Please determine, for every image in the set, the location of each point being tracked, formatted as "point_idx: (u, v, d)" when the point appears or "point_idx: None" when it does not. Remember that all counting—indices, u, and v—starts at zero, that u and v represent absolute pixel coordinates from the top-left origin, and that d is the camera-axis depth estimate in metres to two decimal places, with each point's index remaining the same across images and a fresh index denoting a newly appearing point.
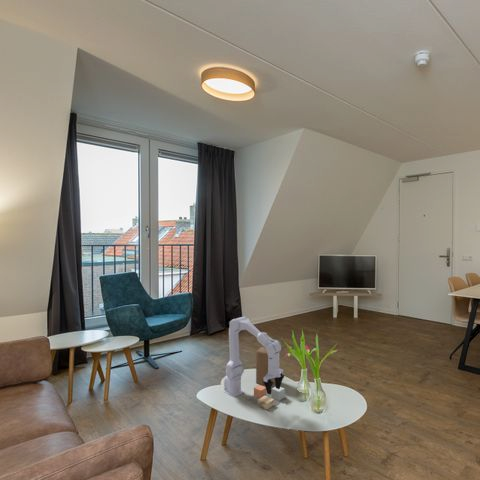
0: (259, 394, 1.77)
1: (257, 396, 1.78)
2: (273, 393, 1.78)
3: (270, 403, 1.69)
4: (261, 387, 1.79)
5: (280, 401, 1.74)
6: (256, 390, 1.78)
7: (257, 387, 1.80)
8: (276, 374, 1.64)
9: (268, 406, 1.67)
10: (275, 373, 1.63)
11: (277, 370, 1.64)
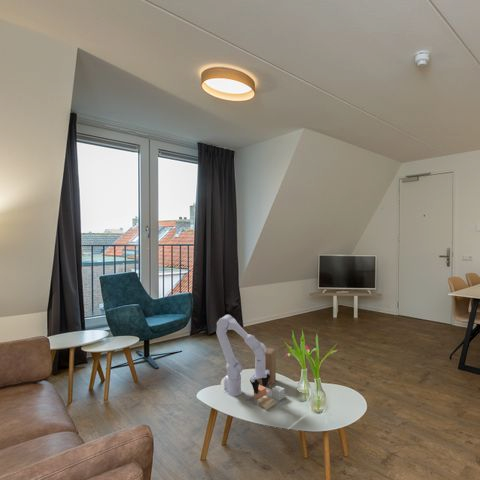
0: (259, 394, 1.77)
1: (257, 396, 1.78)
2: (273, 393, 1.78)
3: (270, 403, 1.69)
4: (261, 387, 1.79)
5: (280, 401, 1.74)
6: None
7: None
8: (262, 375, 1.77)
9: (268, 406, 1.67)
10: (261, 374, 1.77)
11: (263, 371, 1.77)
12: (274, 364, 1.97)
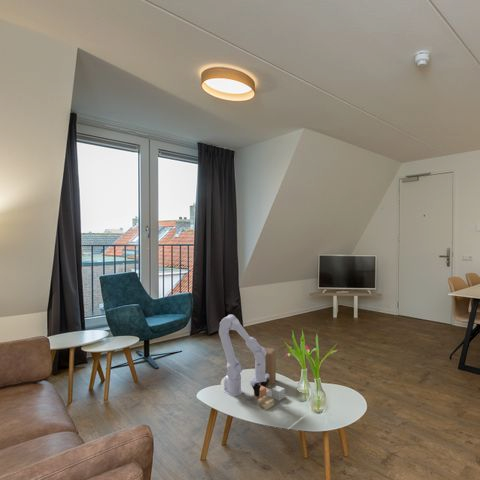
0: (259, 394, 1.77)
1: None
2: (273, 393, 1.78)
3: (270, 403, 1.69)
4: (261, 387, 1.79)
5: (280, 401, 1.74)
6: None
7: None
8: (262, 379, 1.77)
9: (268, 406, 1.67)
10: (261, 378, 1.77)
11: (263, 375, 1.77)
12: (274, 364, 1.97)
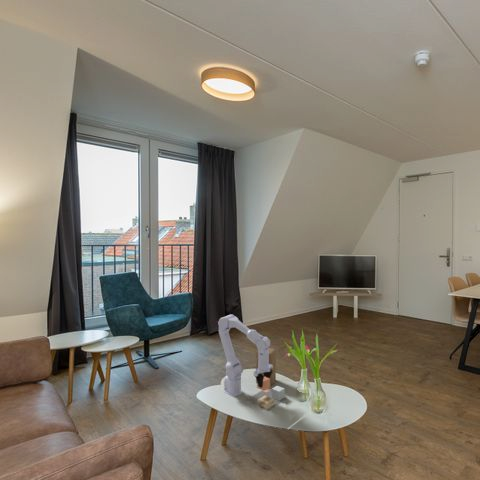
0: (263, 385, 1.72)
1: None
2: (273, 393, 1.78)
3: (270, 403, 1.69)
4: (264, 378, 1.74)
5: (280, 401, 1.74)
6: None
7: None
8: (266, 369, 1.72)
9: (268, 406, 1.67)
10: (265, 368, 1.72)
11: (267, 365, 1.72)
12: (274, 364, 1.97)
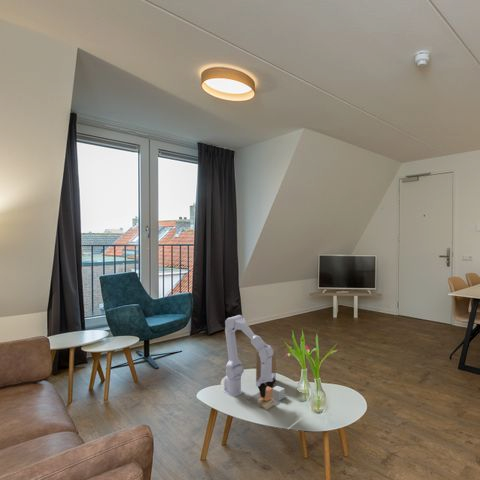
0: (265, 395, 1.68)
1: None
2: (273, 393, 1.78)
3: (270, 403, 1.69)
4: (267, 388, 1.70)
5: (280, 401, 1.74)
6: None
7: None
8: (268, 378, 1.68)
9: (268, 406, 1.67)
10: (267, 377, 1.68)
11: (269, 374, 1.68)
12: (274, 364, 1.97)
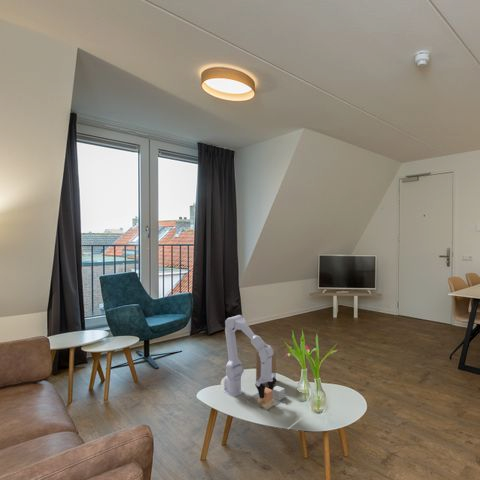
0: (265, 397, 1.68)
1: (263, 399, 1.68)
2: (273, 393, 1.78)
3: (270, 403, 1.69)
4: (267, 390, 1.70)
5: (280, 401, 1.74)
6: None
7: None
8: (268, 378, 1.68)
9: (268, 406, 1.67)
10: (267, 377, 1.68)
11: (269, 374, 1.68)
12: (274, 364, 1.97)
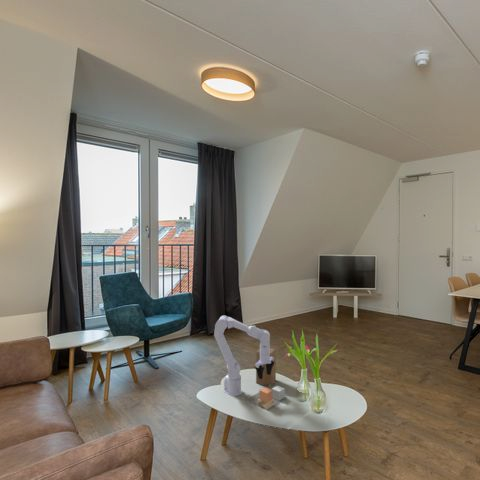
0: (265, 397, 1.68)
1: (263, 399, 1.68)
2: (273, 393, 1.78)
3: (270, 403, 1.69)
4: (267, 390, 1.70)
5: (280, 401, 1.74)
6: (262, 393, 1.69)
7: (263, 390, 1.71)
8: (267, 361, 1.80)
9: (268, 406, 1.67)
10: (266, 360, 1.80)
11: (268, 357, 1.80)
12: (274, 364, 1.97)
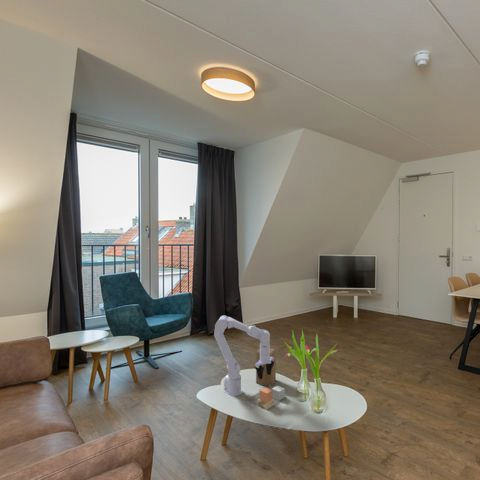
0: (265, 397, 1.68)
1: (263, 399, 1.68)
2: (273, 393, 1.78)
3: (270, 403, 1.69)
4: (267, 390, 1.70)
5: (280, 401, 1.74)
6: (262, 393, 1.69)
7: (263, 390, 1.71)
8: (267, 361, 1.80)
9: (268, 406, 1.67)
10: (266, 360, 1.80)
11: (268, 357, 1.80)
12: (274, 364, 1.97)
